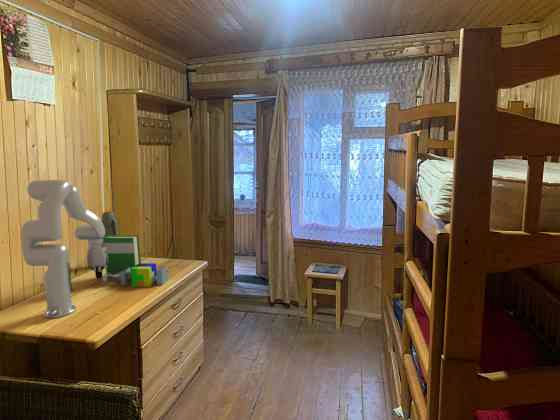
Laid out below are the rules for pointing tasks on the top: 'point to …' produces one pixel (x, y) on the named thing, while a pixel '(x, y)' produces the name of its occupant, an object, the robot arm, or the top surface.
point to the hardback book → (122, 252)
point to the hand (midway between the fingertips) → (99, 278)
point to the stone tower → (109, 224)
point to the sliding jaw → (120, 276)
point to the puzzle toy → (143, 274)
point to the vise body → (161, 274)
